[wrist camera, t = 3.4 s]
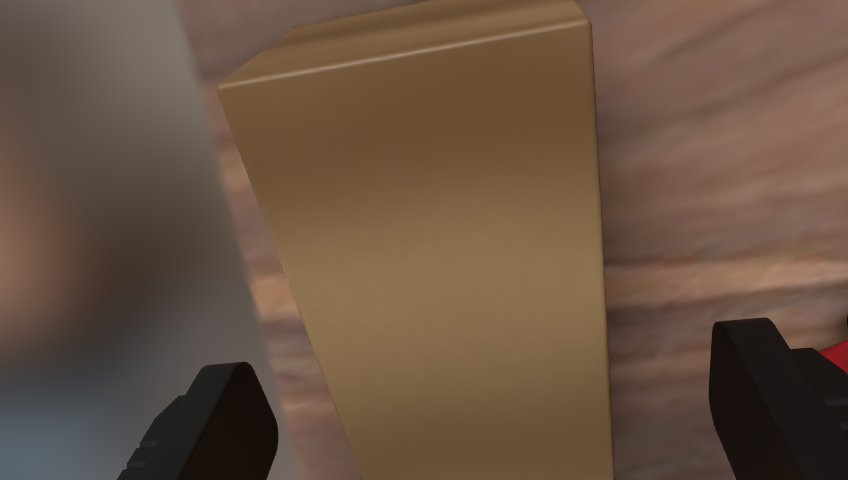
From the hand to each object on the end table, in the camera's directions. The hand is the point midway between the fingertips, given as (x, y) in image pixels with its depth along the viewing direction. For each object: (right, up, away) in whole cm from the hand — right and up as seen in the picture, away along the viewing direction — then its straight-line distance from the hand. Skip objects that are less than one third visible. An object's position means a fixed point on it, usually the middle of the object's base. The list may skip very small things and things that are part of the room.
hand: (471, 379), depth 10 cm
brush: (0, +2, +2) cm, 3 cm away
